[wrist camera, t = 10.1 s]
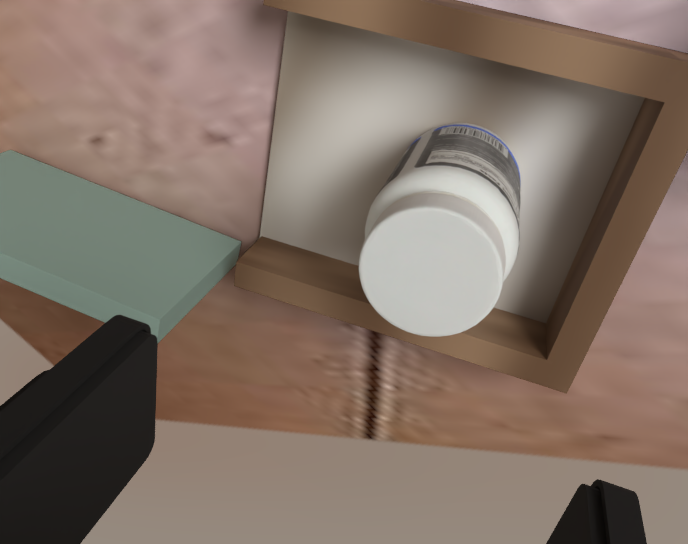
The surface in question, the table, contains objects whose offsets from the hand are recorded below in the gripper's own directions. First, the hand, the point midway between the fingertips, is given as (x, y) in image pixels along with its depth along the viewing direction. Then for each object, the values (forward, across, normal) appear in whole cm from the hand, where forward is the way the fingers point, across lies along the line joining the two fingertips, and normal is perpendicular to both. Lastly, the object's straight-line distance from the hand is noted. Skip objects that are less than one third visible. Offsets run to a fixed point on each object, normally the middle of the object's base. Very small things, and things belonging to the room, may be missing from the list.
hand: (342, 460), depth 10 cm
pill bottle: (+16, 0, 0) cm, 16 cm away
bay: (+16, 0, 0) cm, 16 cm away
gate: (+15, +15, +6) cm, 22 cm away
